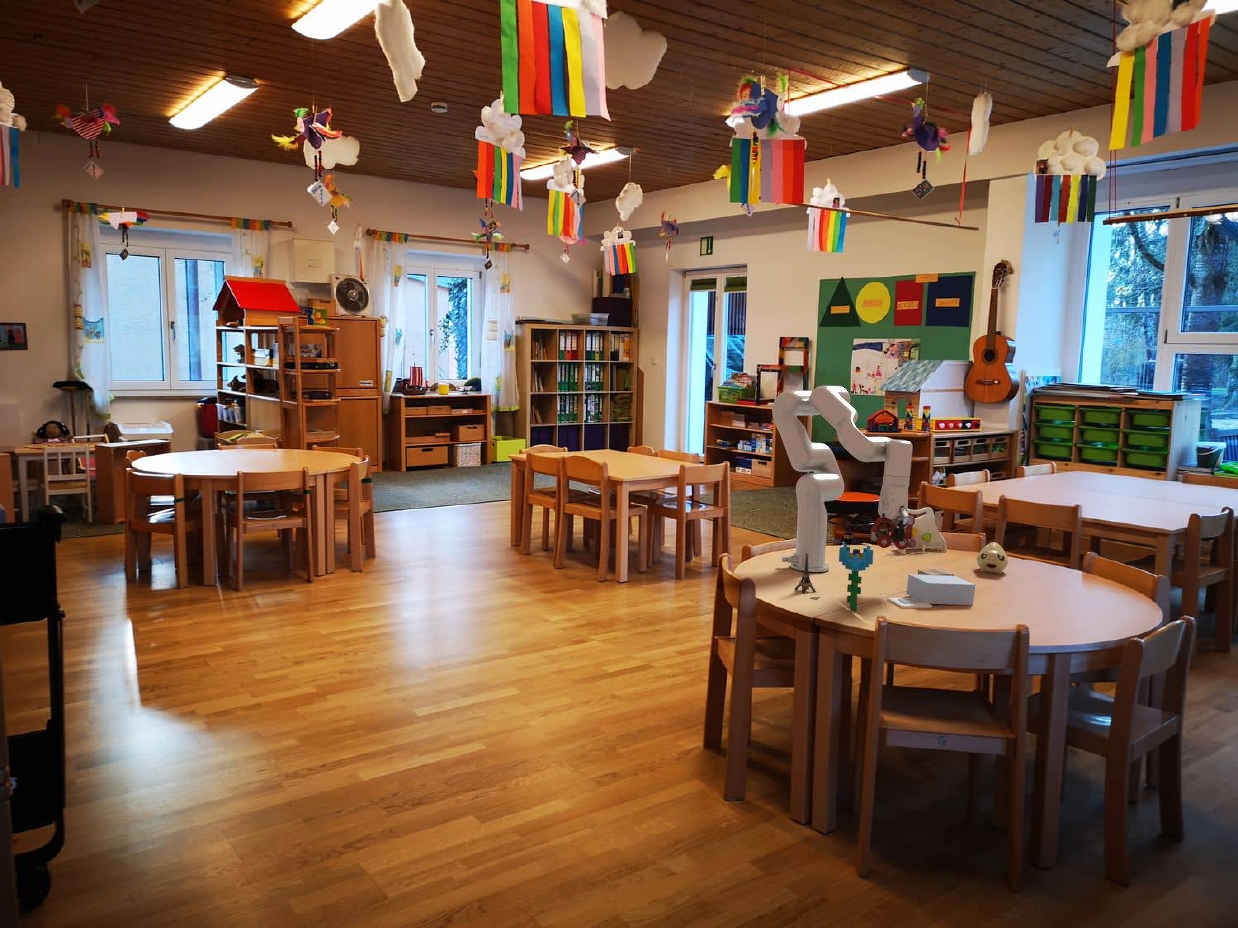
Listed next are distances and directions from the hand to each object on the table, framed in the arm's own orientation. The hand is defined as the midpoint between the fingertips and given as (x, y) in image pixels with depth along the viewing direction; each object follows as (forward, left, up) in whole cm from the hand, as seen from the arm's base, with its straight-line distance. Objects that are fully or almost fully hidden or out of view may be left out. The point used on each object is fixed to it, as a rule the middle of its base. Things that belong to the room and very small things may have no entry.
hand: (890, 537), depth 266 cm
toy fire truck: (0, 0, -3) cm, 3 cm away
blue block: (+10, -12, -16) cm, 23 cm away
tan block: (+15, 0, -17) cm, 23 cm away
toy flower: (-20, -20, -17) cm, 33 cm away
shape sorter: (+36, +51, -17) cm, 65 cm away
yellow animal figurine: (+47, +20, -17) cm, 54 cm away
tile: (-1, -15, -17) cm, 22 cm away
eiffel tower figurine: (-26, 0, -17) cm, 31 cm away
